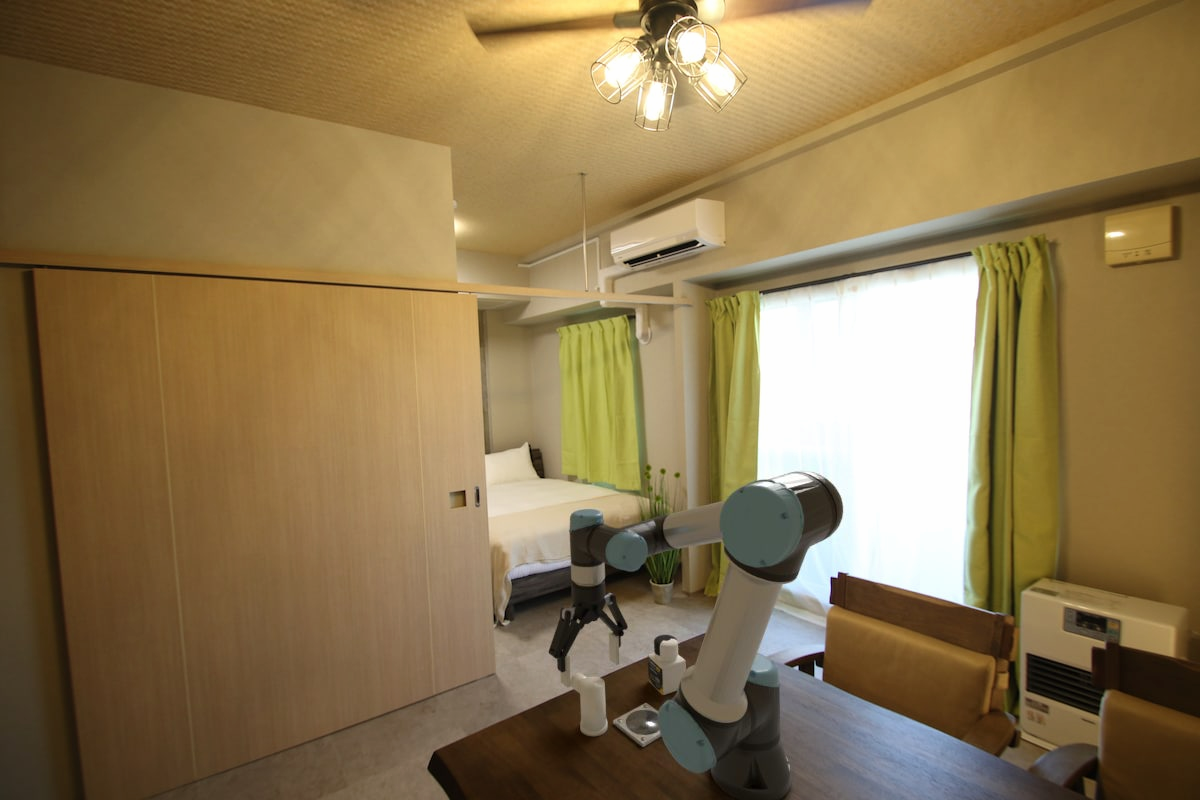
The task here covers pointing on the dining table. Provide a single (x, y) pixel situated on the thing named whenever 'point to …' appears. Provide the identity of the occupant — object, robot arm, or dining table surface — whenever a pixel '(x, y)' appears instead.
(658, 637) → the medicine bottle
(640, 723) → the flange plate
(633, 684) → the dining table surface
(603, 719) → the elbow
